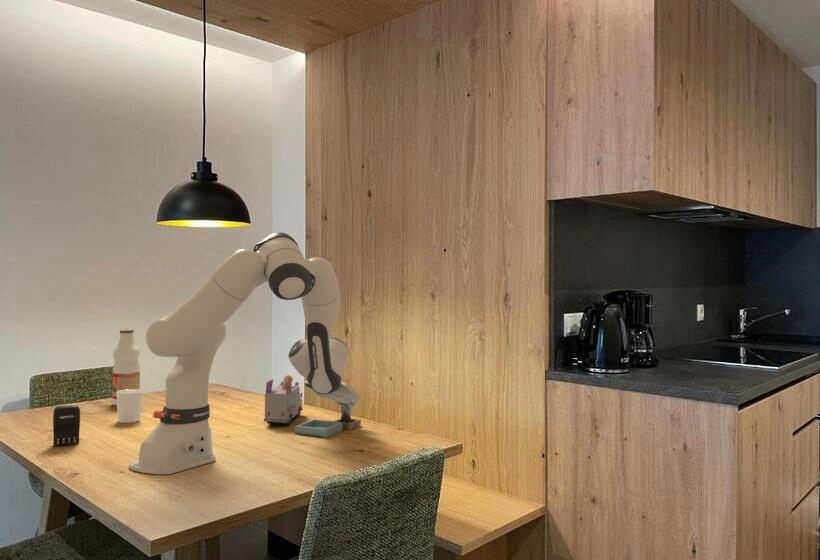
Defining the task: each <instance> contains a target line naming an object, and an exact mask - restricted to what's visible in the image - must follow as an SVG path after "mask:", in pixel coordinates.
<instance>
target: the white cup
mask: <svg viewBox="0 0 820 560" xmlns="http://www.w3.org/2000/svg"><path fill="white" fill-rule="evenodd" d="M142 396H143V390H142V389H140V390H139V389H126V390H120V391H117V406H116V409H117V421H118V423H121V424H130V423H132V422H133V423H137V422H140V419H141V411H142V401H143V400H142V399H143V397H142Z"/></svg>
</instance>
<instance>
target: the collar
mask: <svg viewBox="0 0 820 560" xmlns="http://www.w3.org/2000/svg"><path fill="white" fill-rule="evenodd" d="M334 421H335V422H341V417H340V418H338V419H336V420H335V419H334ZM361 421H362V420H361V419H358V418H351V423H346V422H343V430H345V429H346V430H347V431H352V429H353V430H355V429H356V427H357V428H359V427H361V426H362V423H361ZM360 425H361V426H360ZM358 426H359V427H358ZM354 428H355V429H354Z"/></svg>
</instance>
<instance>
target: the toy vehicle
mask: <svg viewBox="0 0 820 560" xmlns="http://www.w3.org/2000/svg"><path fill="white" fill-rule="evenodd" d="M273 383H274V379H270V380H268V381H266V385H265V393H264V418H263V422H265V423H266V424H269V425H273V424H274V423H283V424H284V425H285V426H286V425H287V426H290V425H291V424H292V422H293V418H294V417H295V418H300V417H301V414H302V413H301V412H302V411H303V399H302V398H303V393H302V392H300V387H301V386H299V382H298V381H297V382H295V383H294V385H292V383H293V377H292V376H291V375H290V374H289V375H288V374H287V375H285V376H284V377H283V381H280V384H279V385H278V386H276V387H274V388H273Z"/></svg>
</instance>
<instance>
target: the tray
mask: <svg viewBox="0 0 820 560" xmlns="http://www.w3.org/2000/svg"><path fill="white" fill-rule="evenodd" d="M294 430H295V431H294V434H295V435H301V436H306V437H307V436H308V437H315V438H316V437H317V438H322V439H323V438H324V439H327V438H329V437H331V436H333V435H335V434H337V433H339V432H341V431H343V430H344V429H343V422H335V420H326V419H318V418H317V419H316V418H312V419H309V420H307V421H305V422H302V423H300V424H298V425H295V427H294Z"/></svg>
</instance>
